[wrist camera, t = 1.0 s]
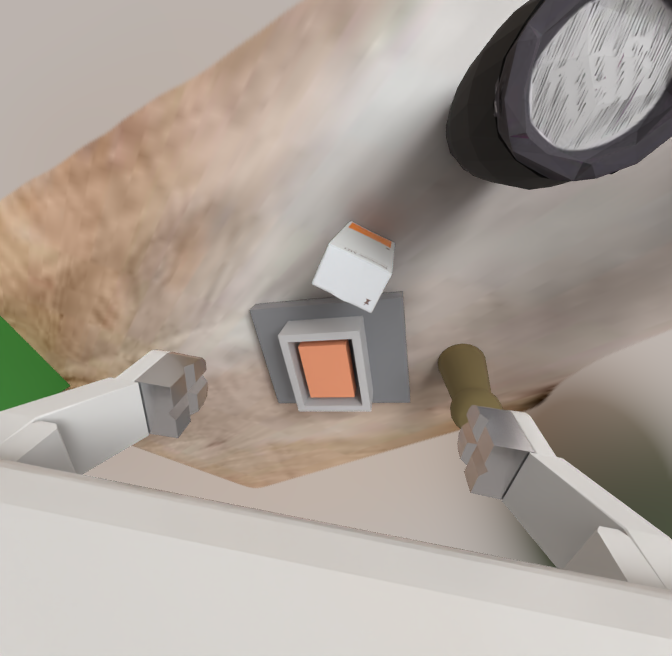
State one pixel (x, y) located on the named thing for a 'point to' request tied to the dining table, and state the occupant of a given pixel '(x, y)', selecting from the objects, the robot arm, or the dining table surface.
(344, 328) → the switch box
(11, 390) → the hardback book
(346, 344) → the button
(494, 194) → the dining table surface
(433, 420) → the dining table surface
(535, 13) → the portable speaker
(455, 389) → the cork
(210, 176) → the dining table surface
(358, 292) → the skincare box
